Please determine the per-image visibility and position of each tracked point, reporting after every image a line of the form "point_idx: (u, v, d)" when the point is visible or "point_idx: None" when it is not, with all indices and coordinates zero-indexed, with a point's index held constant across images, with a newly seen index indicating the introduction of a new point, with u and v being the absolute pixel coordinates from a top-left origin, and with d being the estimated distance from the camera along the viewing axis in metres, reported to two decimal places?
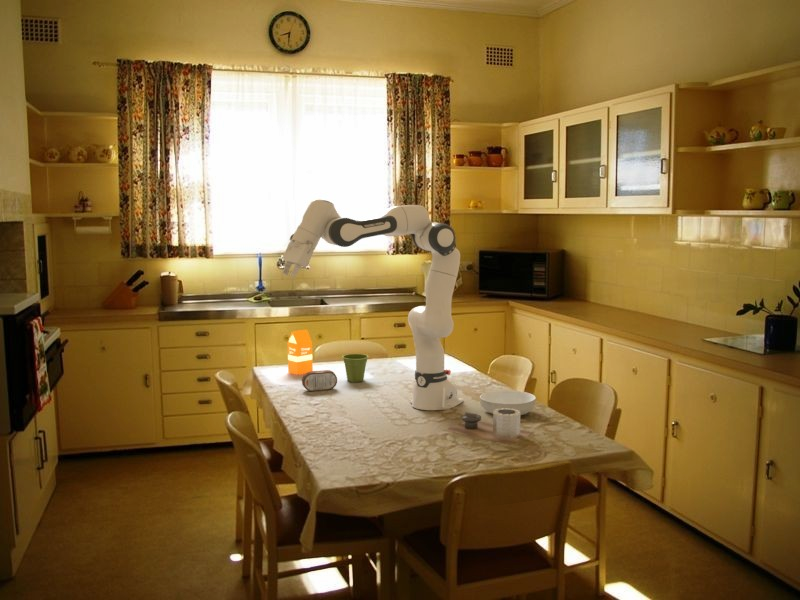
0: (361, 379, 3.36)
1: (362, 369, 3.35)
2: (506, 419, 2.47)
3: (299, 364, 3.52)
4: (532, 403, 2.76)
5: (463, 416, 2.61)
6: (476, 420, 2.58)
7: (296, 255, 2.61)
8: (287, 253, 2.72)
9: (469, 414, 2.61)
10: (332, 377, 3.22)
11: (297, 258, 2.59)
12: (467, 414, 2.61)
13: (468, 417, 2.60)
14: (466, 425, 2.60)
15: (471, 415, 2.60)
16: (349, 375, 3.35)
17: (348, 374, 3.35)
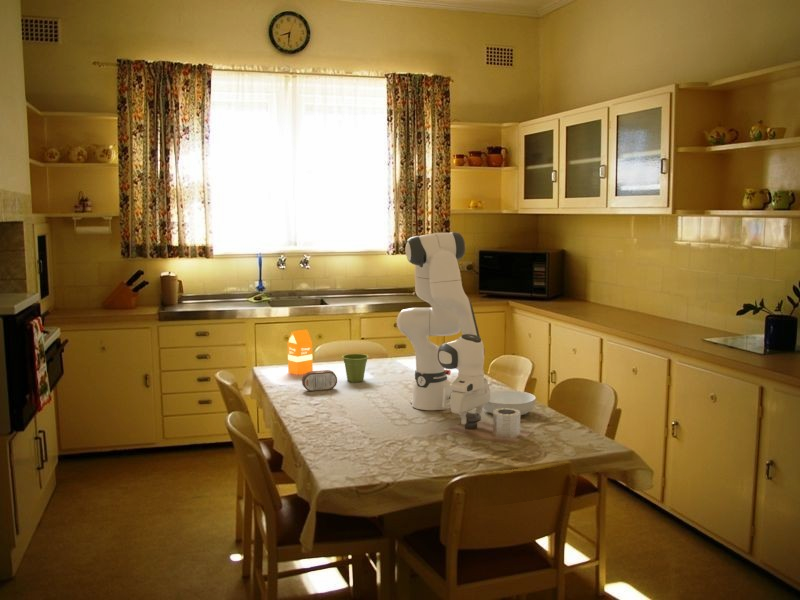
0: (361, 379, 3.36)
1: (362, 369, 3.35)
2: (506, 419, 2.47)
3: (299, 364, 3.52)
4: (532, 403, 2.76)
5: None
6: (476, 420, 2.58)
7: (483, 397, 2.63)
8: (464, 405, 2.53)
9: (469, 414, 2.60)
10: (332, 377, 3.22)
11: (486, 399, 2.65)
12: (467, 414, 2.61)
13: (467, 417, 2.60)
14: (466, 425, 2.60)
15: (471, 415, 2.60)
16: (349, 375, 3.35)
17: (348, 374, 3.35)
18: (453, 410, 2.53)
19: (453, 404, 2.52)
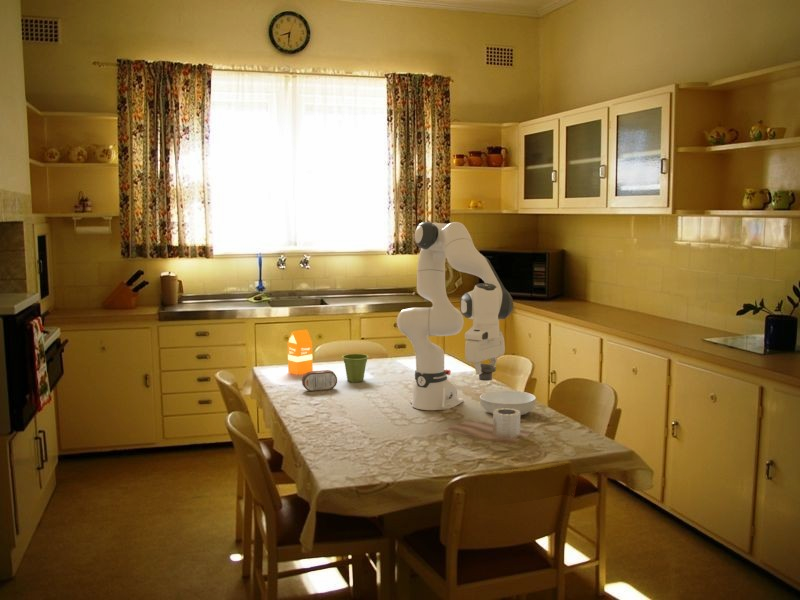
0: (361, 379, 3.36)
1: (362, 369, 3.35)
2: (506, 419, 2.47)
3: (299, 364, 3.52)
4: (532, 403, 2.76)
5: None
6: (491, 371, 2.52)
7: (497, 349, 2.57)
8: (479, 354, 2.48)
9: (483, 365, 2.55)
10: (332, 377, 3.22)
11: (501, 351, 2.59)
12: (481, 365, 2.55)
13: (482, 368, 2.54)
14: (480, 376, 2.54)
15: (486, 366, 2.54)
16: (349, 375, 3.35)
17: (348, 374, 3.35)
18: (468, 359, 2.47)
19: (468, 353, 2.47)
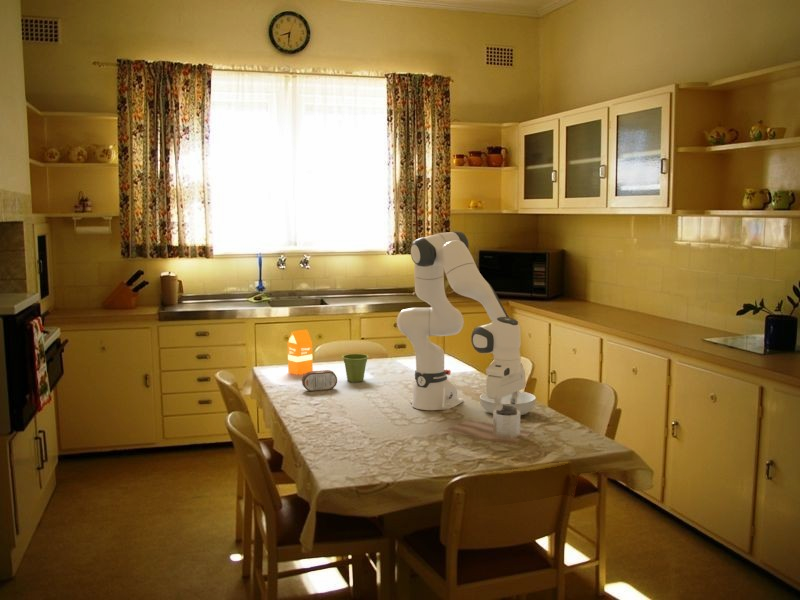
0: (361, 379, 3.36)
1: (362, 369, 3.35)
2: (506, 419, 2.47)
3: (299, 364, 3.52)
4: (532, 403, 2.76)
5: None
6: (512, 412, 2.49)
7: (518, 383, 2.53)
8: (501, 390, 2.44)
9: (504, 406, 2.51)
10: (332, 377, 3.22)
11: (522, 384, 2.55)
12: None
13: (503, 409, 2.51)
14: None
15: (507, 407, 2.51)
16: (349, 375, 3.35)
17: (348, 374, 3.35)
18: (489, 395, 2.43)
19: (490, 389, 2.43)
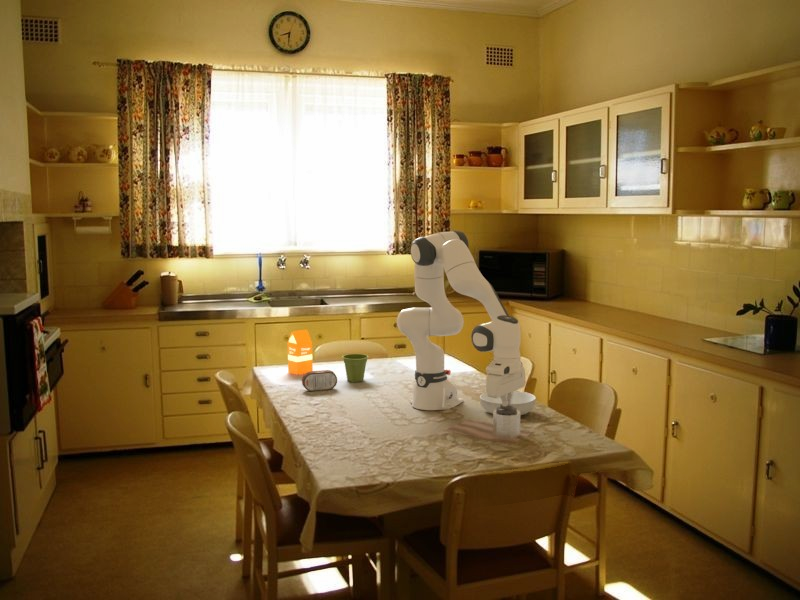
0: (361, 379, 3.36)
1: (362, 369, 3.35)
2: (506, 419, 2.47)
3: (299, 364, 3.52)
4: (532, 403, 2.76)
5: (498, 408, 2.52)
6: (512, 412, 2.49)
7: (518, 381, 2.53)
8: (501, 388, 2.44)
9: (504, 406, 2.51)
10: (332, 377, 3.22)
11: (522, 383, 2.55)
12: (502, 406, 2.52)
13: (503, 409, 2.51)
14: None
15: (507, 407, 2.51)
16: (349, 375, 3.35)
17: (348, 374, 3.35)
18: (489, 394, 2.43)
19: (489, 388, 2.43)
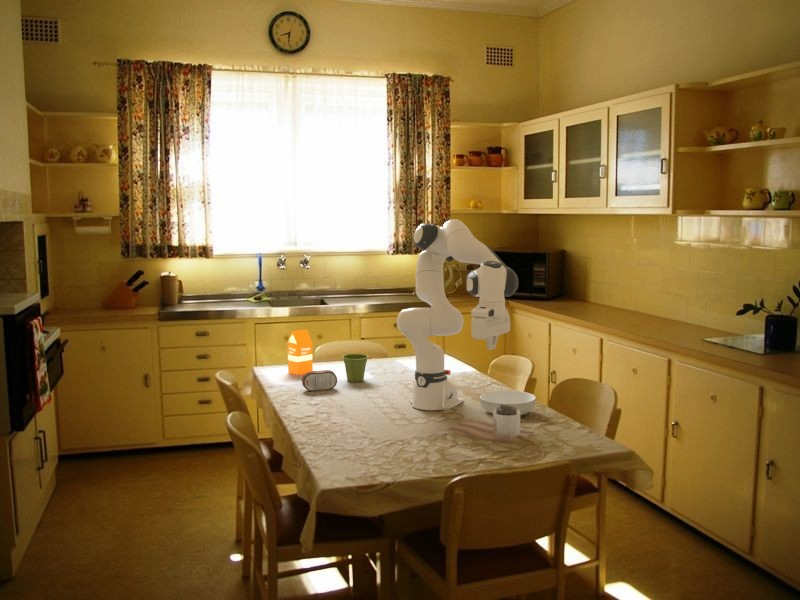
0: (361, 379, 3.36)
1: (362, 369, 3.35)
2: (506, 419, 2.47)
3: (299, 364, 3.52)
4: (532, 403, 2.76)
5: (498, 408, 2.52)
6: (512, 412, 2.49)
7: (503, 326, 2.60)
8: (485, 331, 2.51)
9: (504, 406, 2.51)
10: (332, 377, 3.22)
11: (507, 328, 2.63)
12: (502, 406, 2.52)
13: (503, 409, 2.51)
14: None
15: (507, 407, 2.51)
16: (349, 375, 3.35)
17: (348, 374, 3.35)
18: (474, 336, 2.50)
19: (474, 330, 2.50)
